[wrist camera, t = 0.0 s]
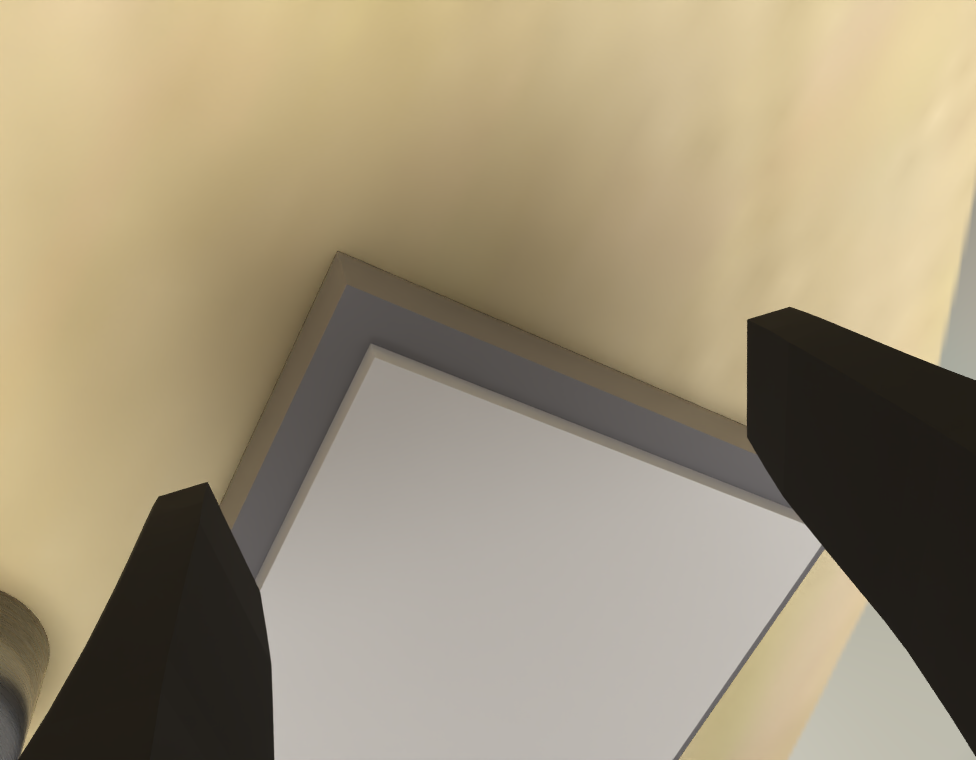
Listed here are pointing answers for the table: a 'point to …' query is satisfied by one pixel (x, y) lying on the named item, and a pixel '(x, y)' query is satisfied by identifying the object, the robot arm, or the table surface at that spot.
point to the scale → (496, 541)
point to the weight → (19, 672)
